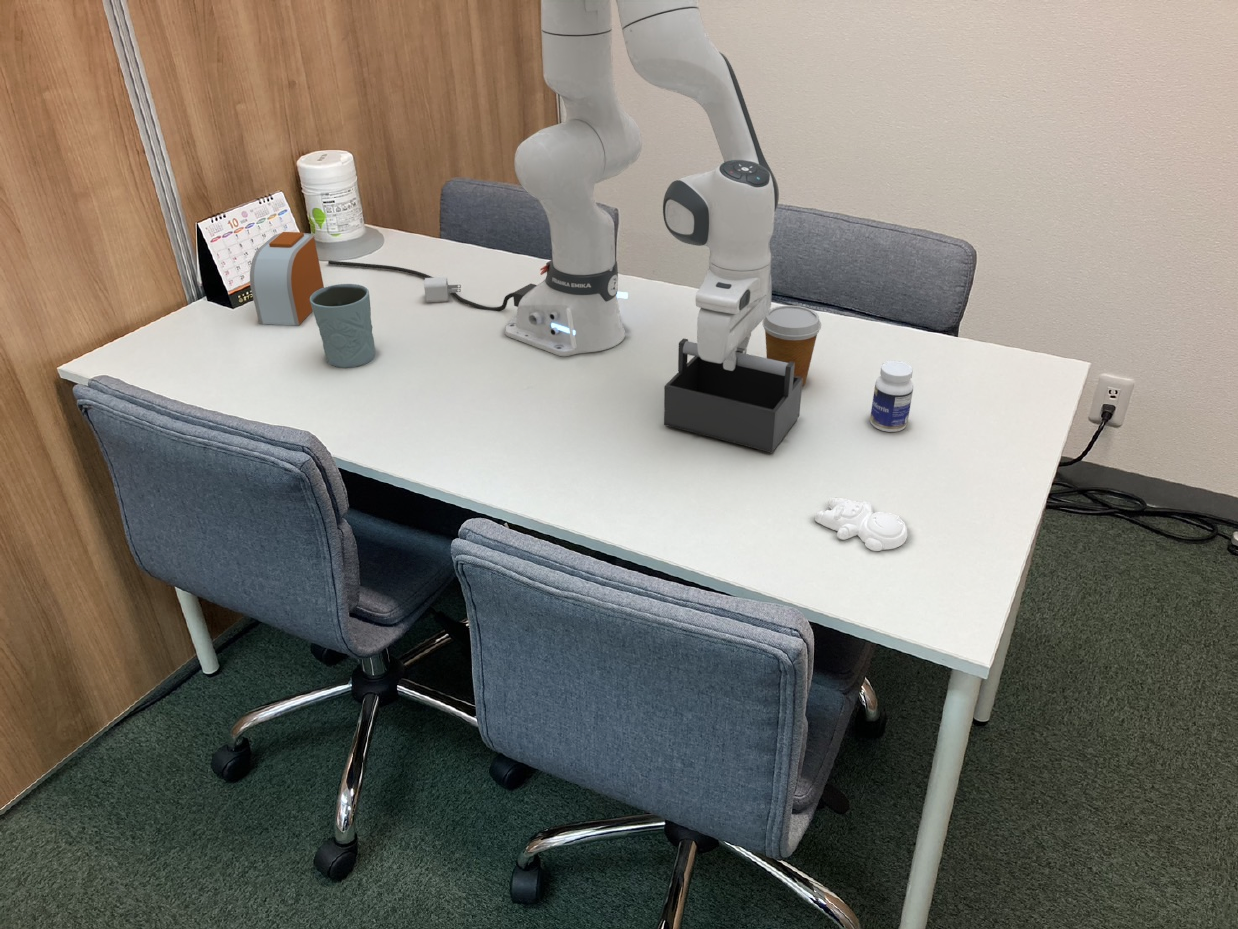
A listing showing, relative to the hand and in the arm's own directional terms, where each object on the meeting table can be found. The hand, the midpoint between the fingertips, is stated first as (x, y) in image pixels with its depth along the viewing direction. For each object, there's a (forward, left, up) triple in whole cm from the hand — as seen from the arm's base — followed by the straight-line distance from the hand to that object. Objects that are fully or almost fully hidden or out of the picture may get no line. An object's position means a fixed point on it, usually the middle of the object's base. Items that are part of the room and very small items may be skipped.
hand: (734, 363), depth 150 cm
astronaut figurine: (+26, -17, -11) cm, 33 cm away
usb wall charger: (-70, +19, -11) cm, 73 cm away
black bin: (0, 0, -10) cm, 10 cm away
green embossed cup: (-70, -9, -11) cm, 71 cm away
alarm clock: (-94, +2, -11) cm, 95 cm away
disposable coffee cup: (+3, +17, -11) cm, 20 cm away
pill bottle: (+22, +11, -11) cm, 27 cm away
